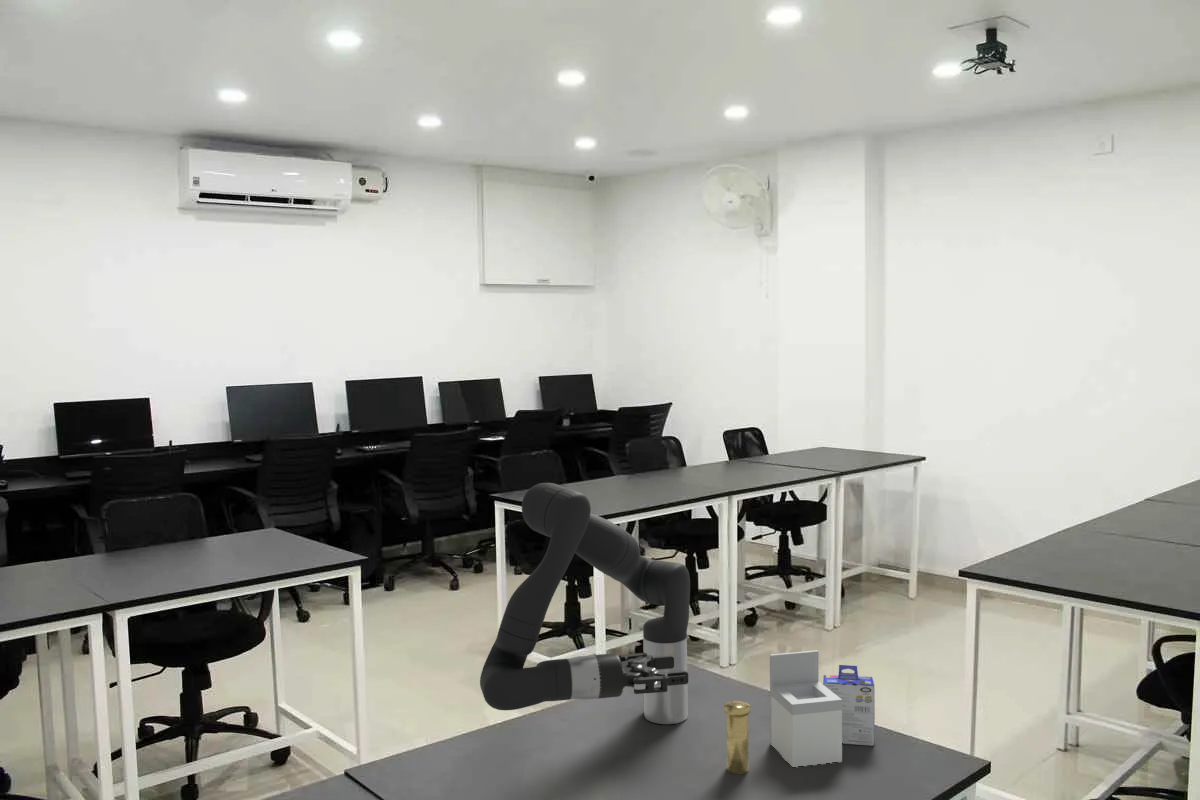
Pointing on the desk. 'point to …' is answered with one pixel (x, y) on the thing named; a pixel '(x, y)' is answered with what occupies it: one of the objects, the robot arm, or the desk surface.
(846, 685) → the ink cartridge box
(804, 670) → the hinge block
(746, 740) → the hinge pin
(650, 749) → the desk surface
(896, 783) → the desk surface
